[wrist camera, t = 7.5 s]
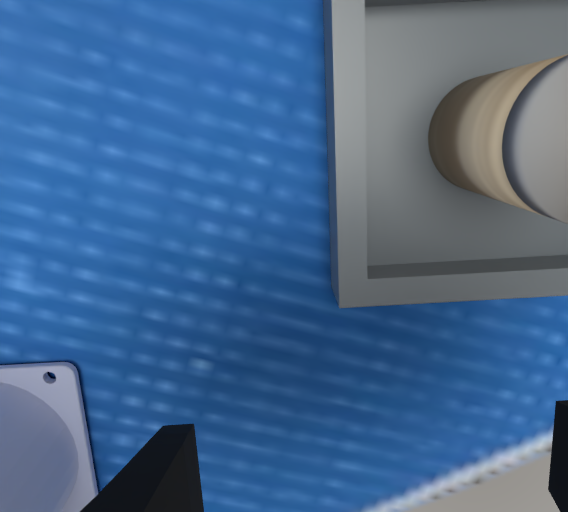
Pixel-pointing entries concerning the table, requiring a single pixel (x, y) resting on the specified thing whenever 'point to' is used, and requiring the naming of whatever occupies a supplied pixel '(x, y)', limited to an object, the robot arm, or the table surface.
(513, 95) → the cylinder
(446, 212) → the tray
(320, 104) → the table surface
